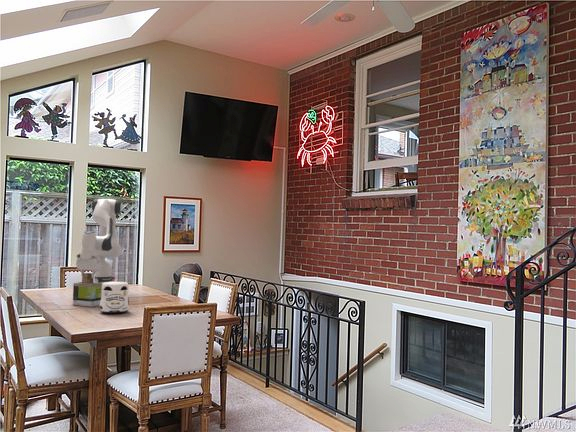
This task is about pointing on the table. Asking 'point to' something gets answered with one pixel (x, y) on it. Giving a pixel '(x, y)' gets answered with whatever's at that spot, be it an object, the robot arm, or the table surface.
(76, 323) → the table surface
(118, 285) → the milk container
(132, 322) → the table surface
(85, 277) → the walnut block
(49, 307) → the table surface
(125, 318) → the table surface
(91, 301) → the tea box
